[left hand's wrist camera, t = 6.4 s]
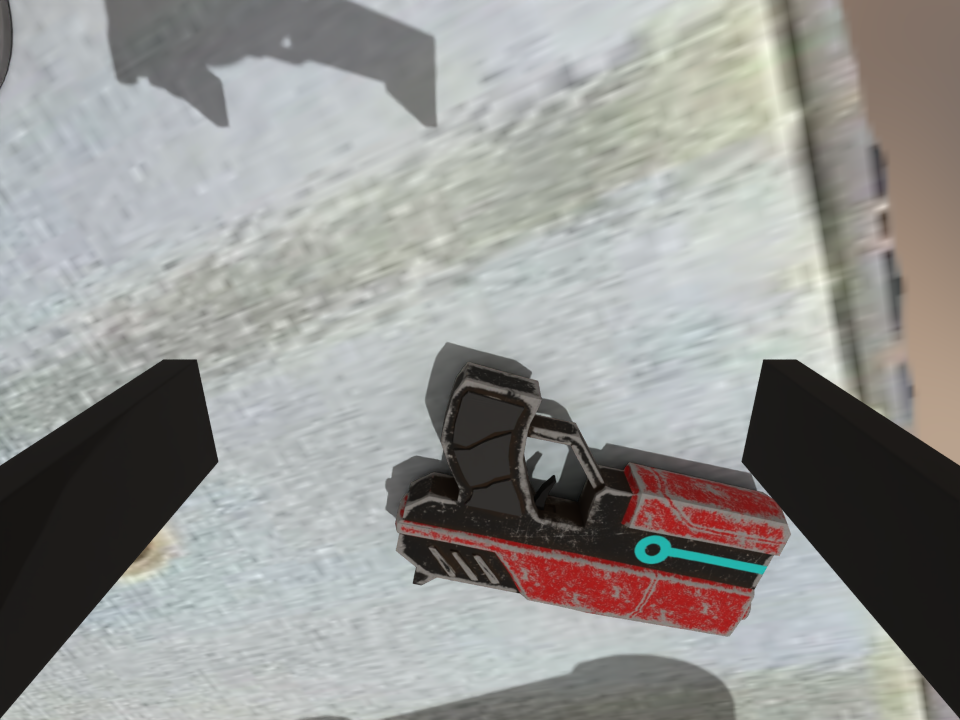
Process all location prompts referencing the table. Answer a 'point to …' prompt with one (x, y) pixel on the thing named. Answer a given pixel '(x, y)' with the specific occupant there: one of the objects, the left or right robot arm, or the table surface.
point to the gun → (582, 521)
